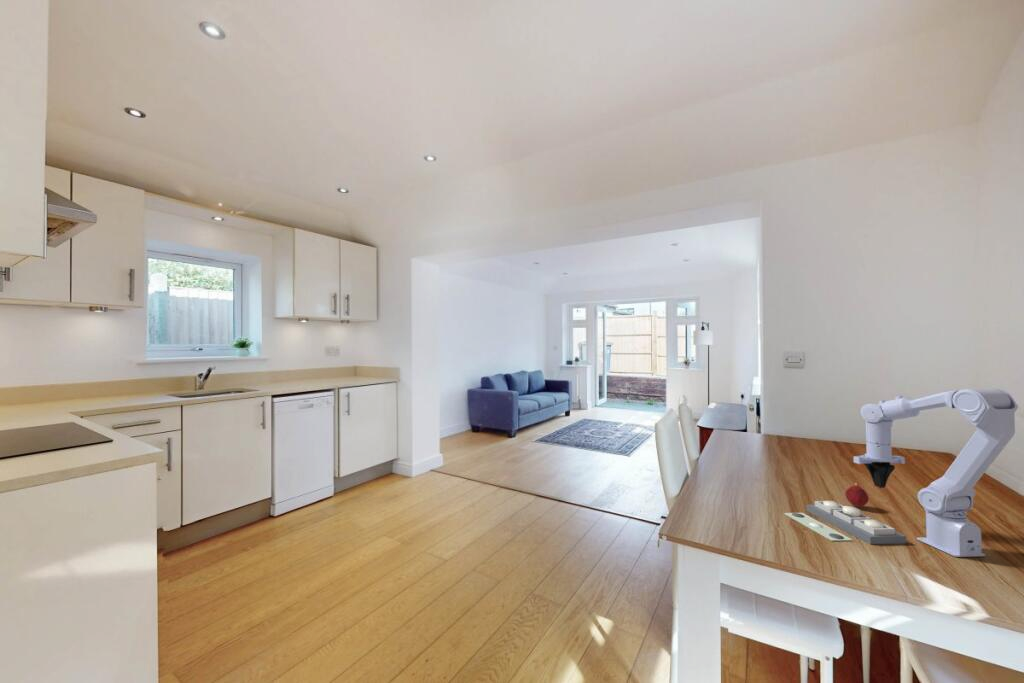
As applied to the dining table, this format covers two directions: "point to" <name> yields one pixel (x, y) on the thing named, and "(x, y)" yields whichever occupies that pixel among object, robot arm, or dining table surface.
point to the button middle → (851, 511)
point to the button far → (831, 504)
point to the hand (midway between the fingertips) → (879, 486)
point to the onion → (856, 496)
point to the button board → (856, 525)
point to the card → (818, 527)
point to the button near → (873, 524)
